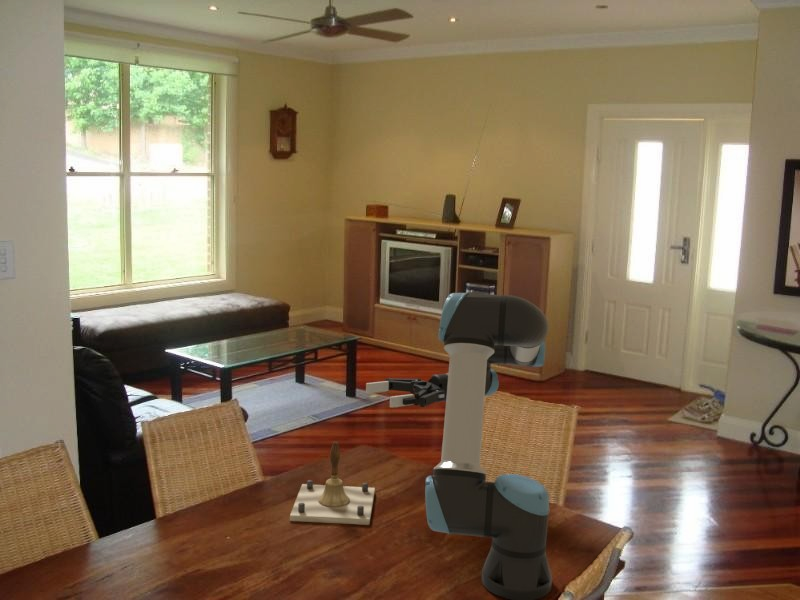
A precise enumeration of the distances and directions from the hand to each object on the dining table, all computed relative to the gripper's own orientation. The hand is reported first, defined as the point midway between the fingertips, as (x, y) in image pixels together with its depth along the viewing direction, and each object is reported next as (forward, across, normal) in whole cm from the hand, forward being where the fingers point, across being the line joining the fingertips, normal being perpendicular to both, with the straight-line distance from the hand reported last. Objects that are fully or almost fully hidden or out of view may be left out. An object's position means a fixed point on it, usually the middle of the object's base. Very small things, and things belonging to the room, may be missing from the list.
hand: (378, 395), depth 213 cm
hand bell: (+11, +1, -28) cm, 30 cm away
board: (+11, +1, -29) cm, 32 cm away
